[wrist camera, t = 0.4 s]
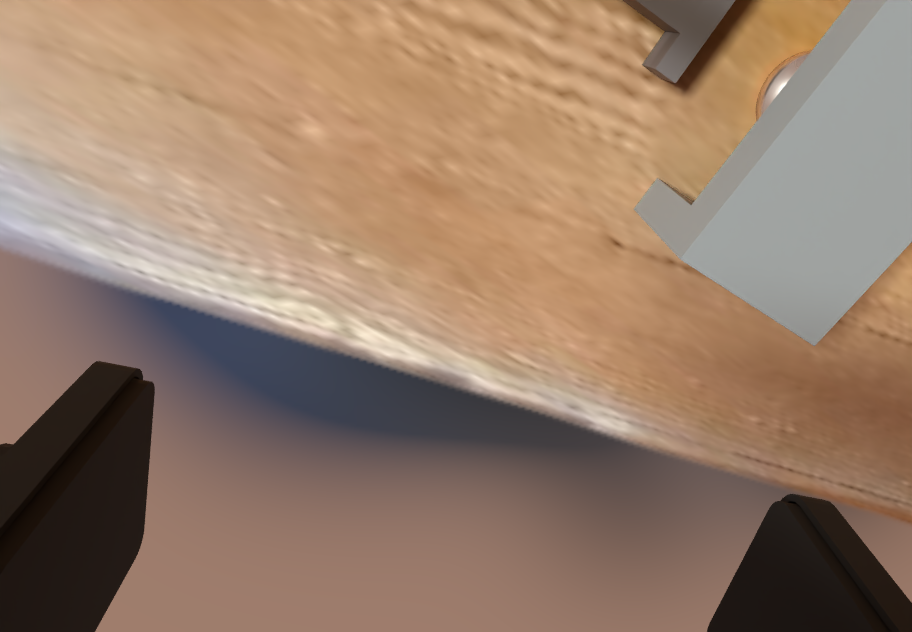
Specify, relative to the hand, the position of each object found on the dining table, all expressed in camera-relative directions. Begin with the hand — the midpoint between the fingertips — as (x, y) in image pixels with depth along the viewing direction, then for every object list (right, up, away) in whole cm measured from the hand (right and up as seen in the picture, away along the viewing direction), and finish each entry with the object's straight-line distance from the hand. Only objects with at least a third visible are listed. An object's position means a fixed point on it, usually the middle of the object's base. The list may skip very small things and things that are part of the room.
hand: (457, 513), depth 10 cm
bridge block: (+18, +14, +25) cm, 33 cm away
